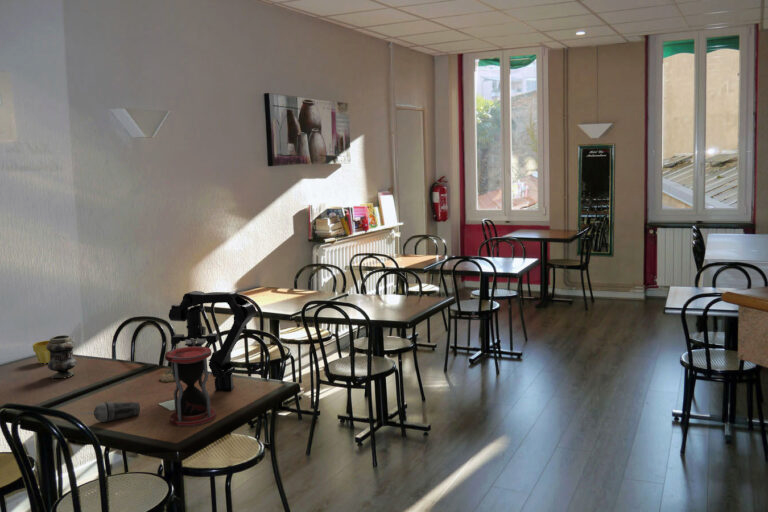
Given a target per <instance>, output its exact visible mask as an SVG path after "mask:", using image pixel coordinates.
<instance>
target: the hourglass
mask: <svg viewBox="0 0 768 512" xmlns="http://www.w3.org/2000/svg"><path fill="white" fill-rule="evenodd" d="M212 353H213V352H212V349H211V348H210V347H206V346H203V345H202V346H200V347H198V346H195V347H188V346H185V347H179V348H174V349H171V350H169V351H167V352H166V353H164V359H165V361H167V362H170V363H171V369H172V375H173V378H174V379H175V381H174V382H175V384H176V385H175V389H174V391H173V400H174V403H175V410H174V411H175V412H173V413H172V414H171V415H170V417H169V423H170V424H171V425H173V426H176V427H195V426H201V425H203V424H208V423H209V422H212V421H213V420H215V418H216V417H217V413H216V412H217V411H216V410H215V409H214V408H212V407H211V400H210V394H209V393H208V391H207V390H206V389H207V388H206V384H207V381H208V379H209V372H208V370H209V369H208V358H210V357H211V355H212ZM203 375H204V379H203ZM179 379H180V380H179ZM180 381H181V382H183V383H184V384H185V385H186V386H187V387H185V389H184V388H183V385H182V384H181V382H180ZM196 383H198V386H199V387H200V388H198V387H197V386H195V385H196ZM200 389H201V390H200Z"/></svg>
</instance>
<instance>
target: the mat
mask: <svg viewBox="0 0 768 512" xmlns="http://www.w3.org/2000/svg"><path fill="white" fill-rule="evenodd" d="M158 405H159V406H161V407H163V408H165V409H167V410H169V411H175V403H174V399H171V400H166V401H163V402H159V403H158Z"/></svg>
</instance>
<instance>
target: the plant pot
mask: <svg viewBox="0 0 768 512" xmlns="http://www.w3.org/2000/svg"><path fill="white" fill-rule="evenodd" d="M49 341H50V339H49V340H42V341H37V342H35V343H33V344H32V351H33V352H34V353H35V356H36V358H37V361H38V364H39V363H48V362H49V361H50V351H48V350H47V348H46V346H47V344H48V343H49Z"/></svg>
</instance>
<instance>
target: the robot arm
mask: <svg viewBox="0 0 768 512" xmlns="http://www.w3.org/2000/svg"><path fill="white" fill-rule="evenodd" d="M222 303H223V304H224V303H226V304H227V305H228V306H229V308H230V311H231V312H232V313H233V314H234V315H233V323H232V326H231V327H230V329H229V332H228V333H227V335H226V336H225V339H224V341H223V343H222V345H221V347H220V349H217V350H216V351H213V352H211V353H212V354H211V356H210V357H209V359H207V362H208V367H209V369H210V372H211V374H212V376H213V378H214V389H215V392H231V391H232V390H233V389H234V388H235V384H234V378H233V373H235V371H236V367H235V365H234V364H233V363H232V361H231V360H232V352H233V350H234V348H235V346H236V344H237V342H238V340H239V338H240V336H241V335H242V332H243V331H244V328H245V327H246V325H248V323H250V322H251V321H252V319H253V318H254V317H255V316H256V313H257V308H256V307H255V305H254V304H253V303H251V302H249V300H248V299H246V298H244V297H242V296H240V295H239V294H238V292H235V291H230V292H204V291H200V290H193V291H190V292H187V293H186V292H185V293H184V295H182V300H181V302H180V303H179V304H172V305H171V306H170V307H171V308H170V310H169V312H168V318H169V319H168V320H170V321H171V322H183V323H184V322H186V326H185V328H186V330H187V335H186V336H185V334H183V333H180V334H174V335H173V336H172V337H171V338H170V344H171V345H178V344H180V343H181V342H185V344H184V346H185V347H195V346H198V347H200V346H202V347H203V345H204V344H205V343H208V344H216V343H217V342H218V341H220V334H219V333H218V332H215V333H213V332H212V333H211V332H210V333H208V334H207V335H206V332H207V331H206V330H207V329H206V328H207V327H206V326H203V322H202V315H201V314H202V312H205V311H206V309H205V308H204V307H203V306H202V304H222Z"/></svg>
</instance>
